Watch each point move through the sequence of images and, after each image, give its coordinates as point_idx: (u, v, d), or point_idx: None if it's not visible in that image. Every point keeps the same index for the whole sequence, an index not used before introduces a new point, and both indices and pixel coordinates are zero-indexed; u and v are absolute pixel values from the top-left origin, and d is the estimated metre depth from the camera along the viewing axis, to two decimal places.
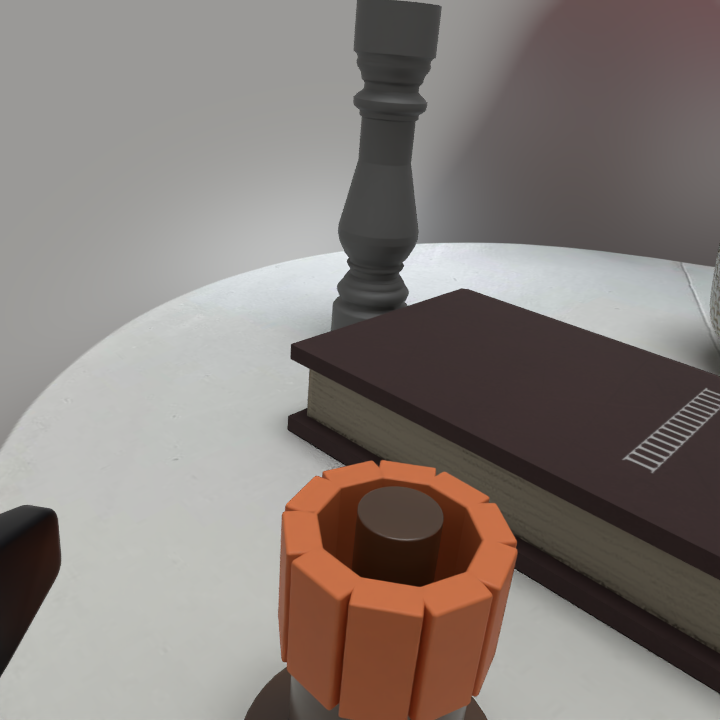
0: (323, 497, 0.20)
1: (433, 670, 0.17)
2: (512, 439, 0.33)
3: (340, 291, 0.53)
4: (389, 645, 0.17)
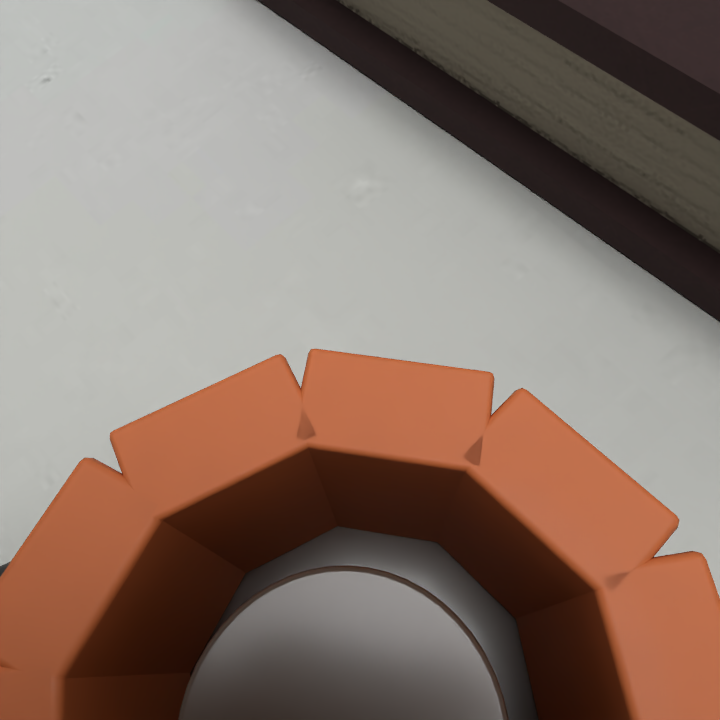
0: (93, 581, 0.06)
1: None
2: (686, 27, 0.14)
3: None
4: None
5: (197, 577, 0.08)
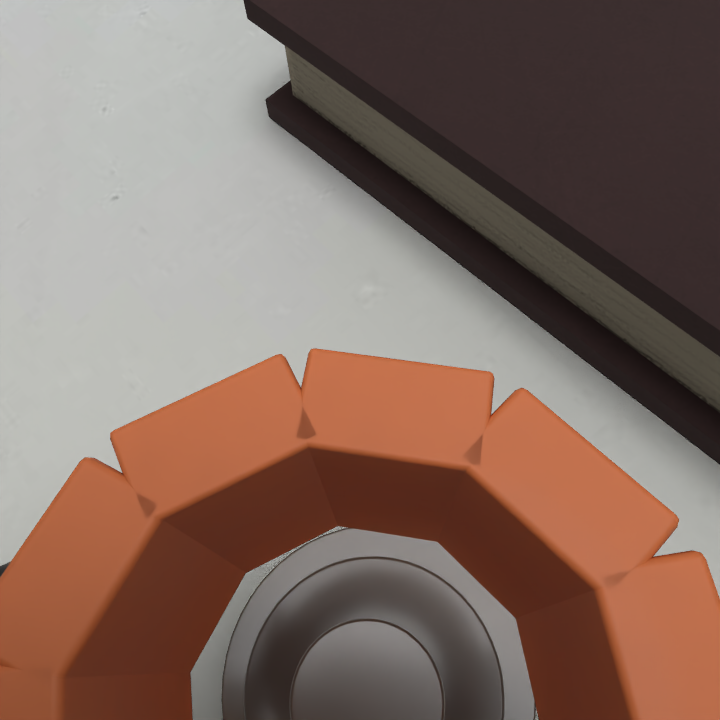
0: (93, 581, 0.06)
1: None
2: (602, 208, 0.20)
3: None
4: None
5: (197, 577, 0.08)
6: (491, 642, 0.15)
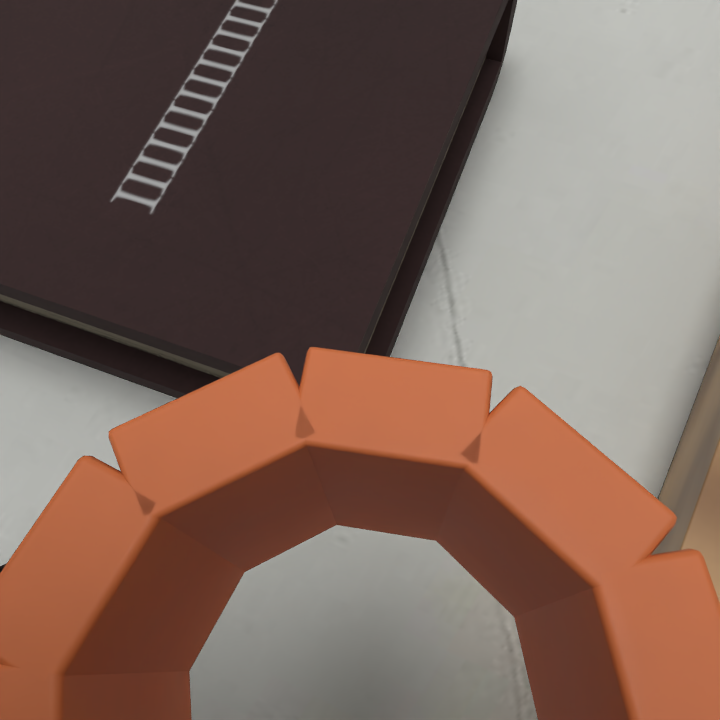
0: (92, 579, 0.06)
1: None
2: None
3: None
4: None
5: (196, 575, 0.08)
6: None
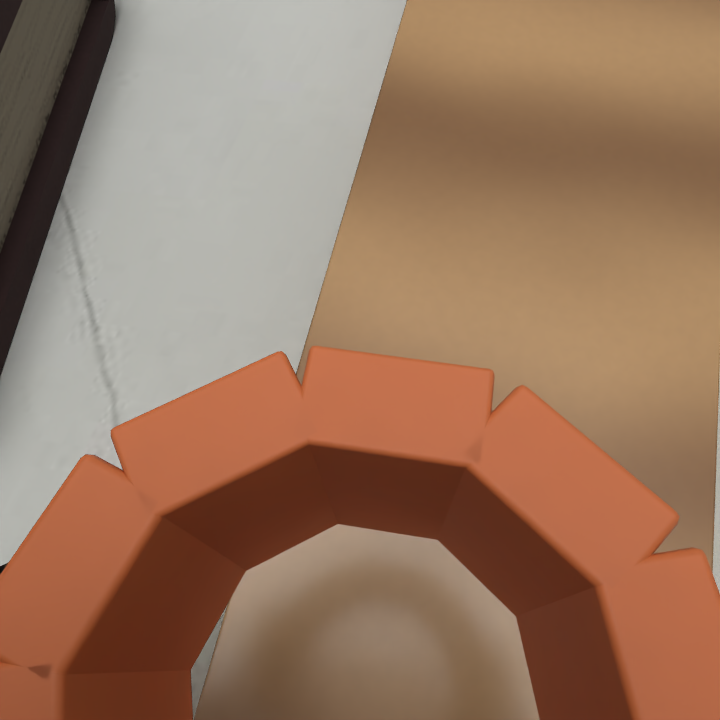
0: (94, 577, 0.06)
1: None
2: None
3: None
4: None
5: (198, 574, 0.08)
6: None
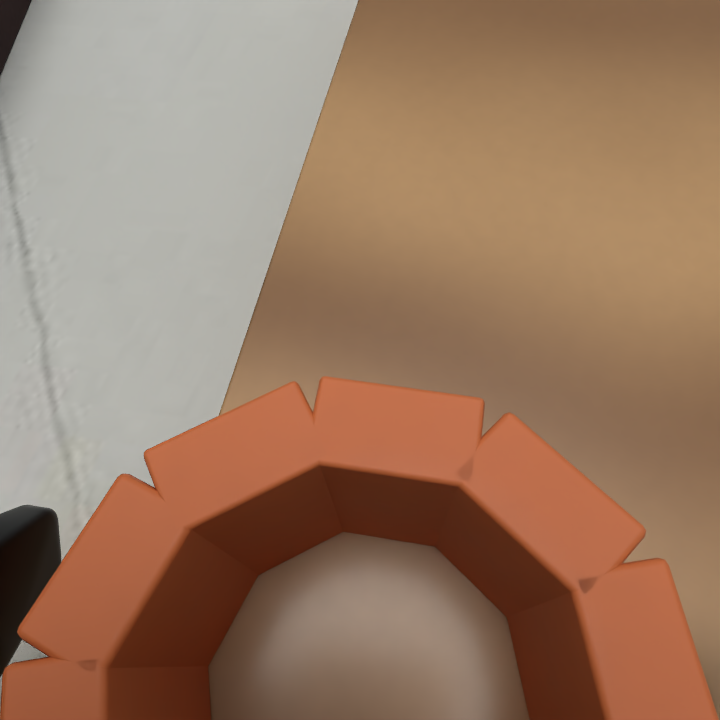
0: (131, 583, 0.07)
1: None
2: None
3: None
4: None
5: (217, 579, 0.08)
6: None
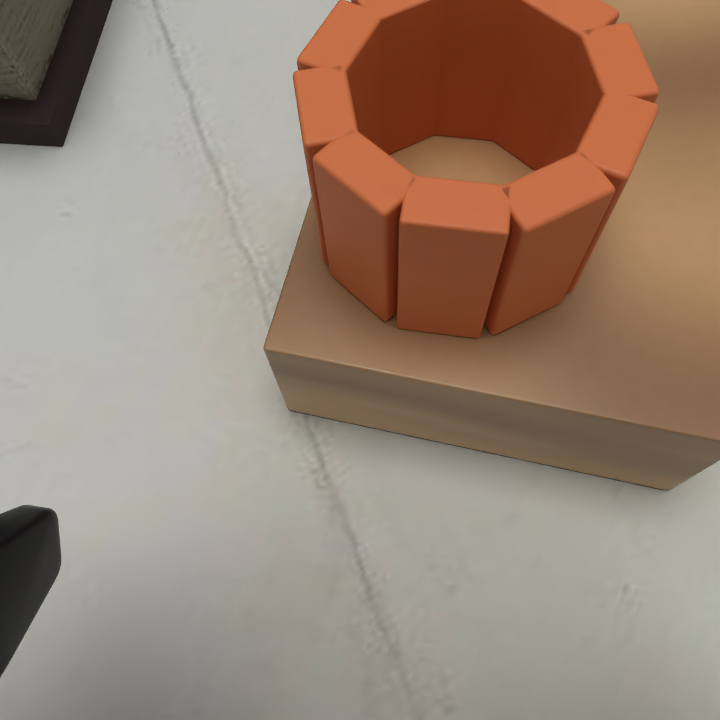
0: (354, 39, 0.13)
1: (518, 284, 0.13)
2: None
3: None
4: (459, 265, 0.12)
5: (375, 104, 0.15)
6: None
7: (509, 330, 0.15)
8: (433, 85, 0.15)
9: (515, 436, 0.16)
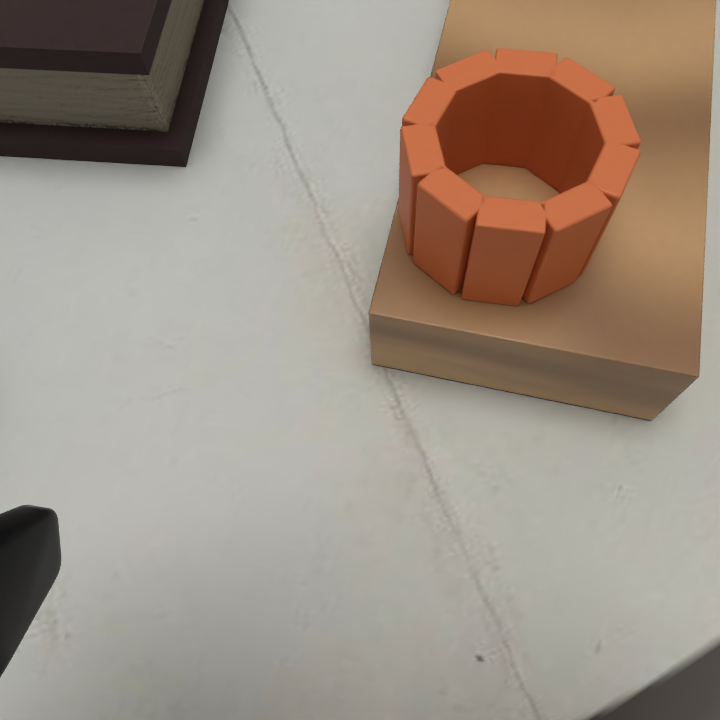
0: (439, 105, 0.20)
1: (548, 267, 0.19)
2: None
3: None
4: (511, 253, 0.19)
5: (447, 144, 0.21)
6: None
7: (539, 300, 0.21)
8: (485, 130, 0.22)
9: (541, 378, 0.23)
